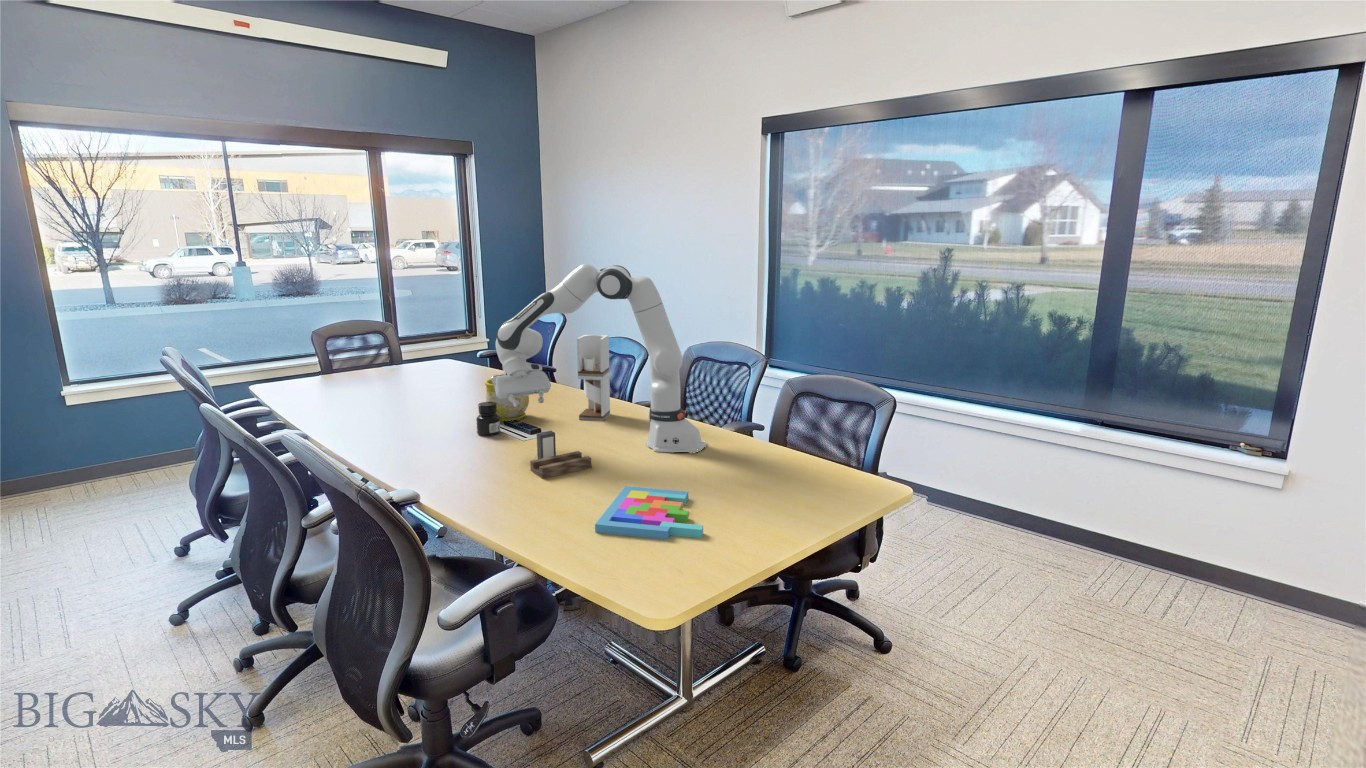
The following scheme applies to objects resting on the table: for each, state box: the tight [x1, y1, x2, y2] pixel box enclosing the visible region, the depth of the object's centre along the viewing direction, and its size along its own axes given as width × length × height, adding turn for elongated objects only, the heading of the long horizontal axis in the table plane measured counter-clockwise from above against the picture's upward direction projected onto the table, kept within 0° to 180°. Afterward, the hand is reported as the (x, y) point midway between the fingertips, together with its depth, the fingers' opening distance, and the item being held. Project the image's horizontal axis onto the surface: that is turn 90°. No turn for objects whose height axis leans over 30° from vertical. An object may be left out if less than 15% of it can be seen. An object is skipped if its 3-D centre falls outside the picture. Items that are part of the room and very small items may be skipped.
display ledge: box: [529, 450, 593, 480], centre depth 221 cm, size 18×9×4 cm, turn 127°
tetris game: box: [594, 485, 704, 540], centre depth 185 cm, size 28×3×28 cm
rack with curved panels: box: [576, 334, 611, 422], centre depth 282 cm, size 11×11×35 cm
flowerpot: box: [484, 378, 530, 423], centre depth 282 cm, size 18×18×16 cm
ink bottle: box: [476, 401, 501, 437], centre depth 260 cm, size 10×9×12 cm
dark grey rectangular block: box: [536, 430, 557, 459], centre depth 229 cm, size 3×6×10 cm, turn 127°
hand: (529, 404), depth 236 cm, fingers open, 8 cm apart
